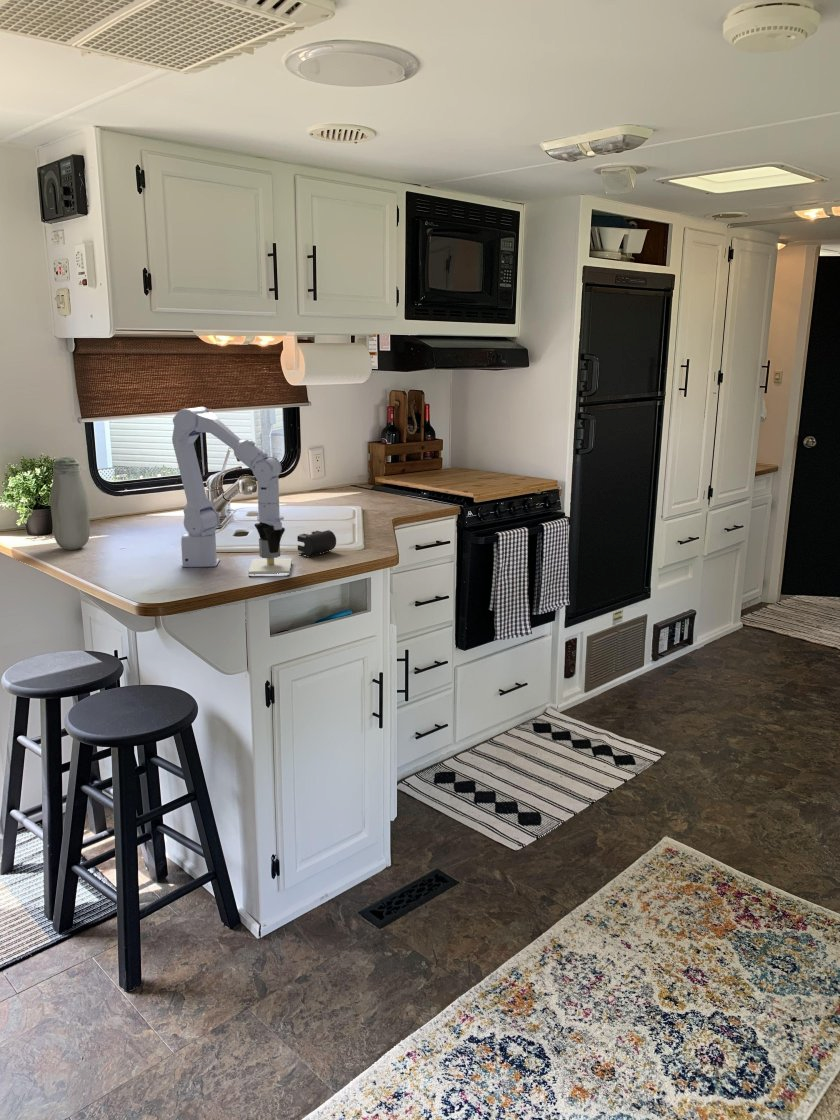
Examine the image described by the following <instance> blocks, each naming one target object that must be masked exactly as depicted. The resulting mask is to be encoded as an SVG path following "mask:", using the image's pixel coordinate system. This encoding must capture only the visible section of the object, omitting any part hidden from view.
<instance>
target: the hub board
mask: <svg viewBox="0 0 840 1120" xmlns="http://www.w3.org/2000/svg"><path fill="white" fill-rule="evenodd" d="M291 564H292V565H293V559H292V558H291V557H290V558H288V557H287V558H284V557H283V558H270V559H269V558H253V559H252V560H251V564H250V566H249V569H248V572H247V573H248V575H249V574H254V575H255V574H277V573H278V574H279V573H290V574H291V571H290V568H291V569H292V566H291Z"/></svg>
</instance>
